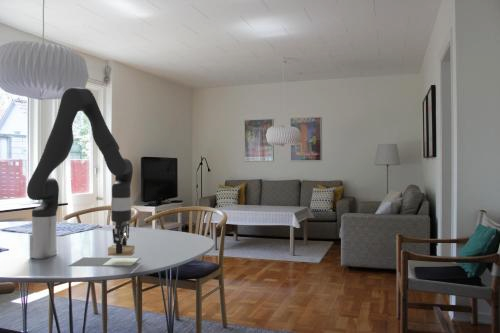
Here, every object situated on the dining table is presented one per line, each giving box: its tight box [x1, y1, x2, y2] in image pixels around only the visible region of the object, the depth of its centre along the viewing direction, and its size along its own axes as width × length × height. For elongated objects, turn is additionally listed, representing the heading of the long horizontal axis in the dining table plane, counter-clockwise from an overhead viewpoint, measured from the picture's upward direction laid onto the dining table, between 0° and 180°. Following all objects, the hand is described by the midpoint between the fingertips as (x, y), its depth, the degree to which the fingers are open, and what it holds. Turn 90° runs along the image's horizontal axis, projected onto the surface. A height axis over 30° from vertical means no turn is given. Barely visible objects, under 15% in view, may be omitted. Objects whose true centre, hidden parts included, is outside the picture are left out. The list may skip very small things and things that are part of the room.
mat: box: [68, 256, 142, 268], centre depth 164 cm, size 24×14×1 cm, turn 90°
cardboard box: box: [107, 244, 136, 257], centre depth 164 cm, size 5×9×3 cm, turn 89°
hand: (121, 251), depth 164 cm, fingers closed on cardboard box, 5 cm apart
